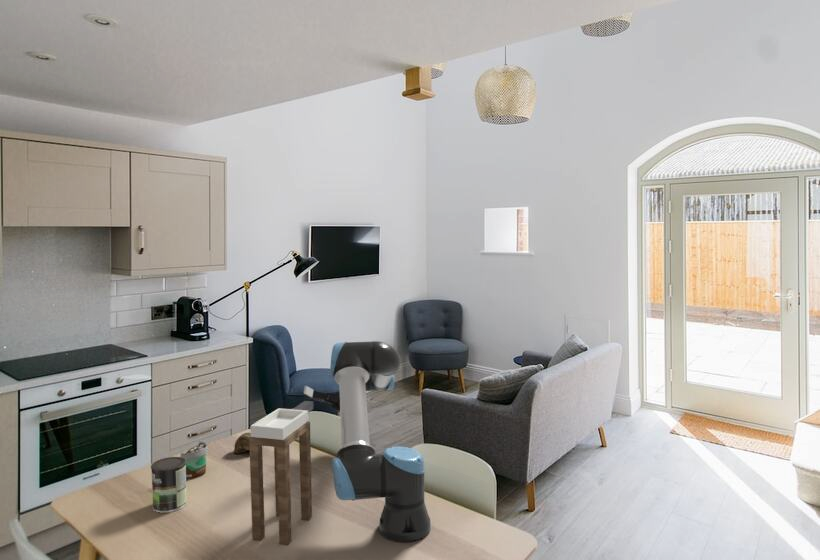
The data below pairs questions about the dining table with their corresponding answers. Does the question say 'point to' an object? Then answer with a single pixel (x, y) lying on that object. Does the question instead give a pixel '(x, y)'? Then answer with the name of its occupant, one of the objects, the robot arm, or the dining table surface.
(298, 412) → the sliding tray
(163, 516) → the dining table surface
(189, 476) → the food container
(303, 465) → the walnut stand
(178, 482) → the coffee can
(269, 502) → the dining table surface
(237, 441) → the seashell
